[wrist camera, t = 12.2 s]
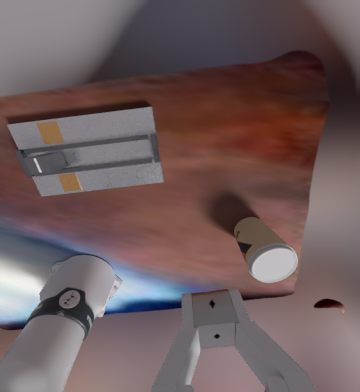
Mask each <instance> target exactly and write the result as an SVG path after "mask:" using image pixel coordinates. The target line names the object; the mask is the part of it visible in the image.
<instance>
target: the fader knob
mask: <svg viewBox="0 0 360 392" xmlns="http://www.w3.org/2000/svg"><path fill="white" fill-rule="evenodd" d="M24 161H25V163H26V165H27V167H28V169H29V171H30V173H31V175H33V174H41V173H50V172H54V171H56V170H59V169H62V168H64V167H67V165H66V162H65V159H64V157H63V154H62V152H55V153H47V154H41V155H36V156H32V157H27V158H24Z"/></svg>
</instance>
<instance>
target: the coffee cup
mask: <svg viewBox="0 0 360 392" xmlns="http://www.w3.org/2000/svg"><path fill="white" fill-rule="evenodd" d="M234 235H235V238H236V240H237V243H238V245H239V247H240V250H241V252H242V254H243V257H244V259H245V261H246V264H247V266H248V270H249V272H250V274H251V275H252V276H253V277H255V278H256V279H257V280H259V281H262V282H267V283H271V282H277V281H280V280H283V279H285V278H286V277H288V276H289V275H291V274H292V273H293V271H294V270H295V269H296V267H297V263H298V258H297V255H296V252H295V251H294V249H293V248H292V247H290V246H289V245H287V244H286V243H285V242H284V241H283V240H282V239H281V238H280V237H279V236H278V235H277V234H276V233H275V232H274V231H272V230H271V229H270V228H269V227H268V226H267V225H266V224H265V223H264V222H262V221H261V220H260V219H258V218H256V217H247V218H244V219H242V220H241V221H239V222H238V223H237V225H236V226H235V229H234Z"/></svg>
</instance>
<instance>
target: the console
mask: <svg viewBox="0 0 360 392" xmlns="http://www.w3.org/2000/svg"><path fill="white" fill-rule="evenodd" d="M7 126H8V128H9V130H10V132H11V134H12V137H13V139H14V141H15V143H16V145H17V147H18V149H19V150H16V151H15V153H16V155H17V157H18V159H19V161H20V163H21V165H22V167H23V169H24V171H25V173H26V175H27V177H28V178H31V177H32V178H33V180H34V182H35V184H36V186H37V188H38V190H39V192H40V194H41V196H49V195H58V194H66V193H75V192H83V191H92V190H100V189H109V188H117V187H126V186H135V185H143V184H152V183H160V182H164V175H163V169H162V162H161V156H160V149H159V143H158V137H157V130H156V124H155V117H154V111H153V107H145V108H137V109H129V110H121V111H113V112H105V113H97V114H89V115H81V116H73V117H65V118H57V119H49V120H41V121H33V122H24V123H16V124H8V125H7ZM55 152H62V154H63V157H64V159H65V162H66V165H67V167H64V168H62V169H59V170H56V171H54V172H50V173H41V174H33V175H31V173H30V171H29V169H28V167H27V165H26V163H25V161H24V158H27V157H32V156H36V155H41V154H47V153H55Z"/></svg>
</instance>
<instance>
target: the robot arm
mask: <svg viewBox="0 0 360 392" xmlns="http://www.w3.org/2000/svg"><path fill="white" fill-rule="evenodd" d="M121 284H122V281H121V279H119V278H118V277H117V276H116V275H115V273H114V270H113V269H112V267H111V266H110V265H109V264H108V263H107V262H105V261H104V260H102V259H100V258H97V257H94V256H90V255H77V256H73V257H71V258H69V259H67V260H66V261H63V262H57V263H54V265H53V266H52V276H51V278H50V279H49V281H48V282H47V283H46V285H45V286H44V287H43V289H42V290H41V292H40V294H39V295H40V300H41V302H40V304H39V305H38V306H37V308H36V309H34V311H33V312H32V313H31V315H30V317H29V319H28V320H27V322H26V326H25V328H24V329H23V331H22V332H21V333H20V335H19V336H18V337H17V339H16V340H15V341H14V343H13V344H12V346H11V347H10V348H9V350H8V351H7V352H6V354H5V355H4V356H3V358H2V359H1V360H0V392H64V388H65V385H66V382H67V379H68V377H69V374H70V371H71V369H72V366H73V363H74V360H75V358H76V356H77V353H78V351H79V348H80V346H81V343H82V341H84V339H85V338H86V337H87V334H88V333H89V331H90V329H91V326H92V323H93V320H94V319H95V318H96V317H97V316H98V317H102V316H103V314H104V312H105V309H106V307H107V306H106V305H107V303H108V302H109V301H110V299H111V298H112V297H113V295H114V294H115V293H116V292H117V290H118V289H119V288H120V286H121ZM182 321H183V329H180V330H179V332H178V334H177V336H176V338H175V340H174V342H173V344H172V346H171V348H170V351H169V353H168V355H167V357H166V359H165V361H164V363H163V365H162V367H161V369H160V371H159V373H158V375H157V377H156V379H155V382H154V384H153V386H152V392H194V389H193V388H192V386H190V383H191V380H192V376H193V373H194V370H195V367H196V364H197V361H198V357H199V354H200V349H207V348H214V347H227V346H235V348H236V349H237V350H238V352H239V353H240V354H241V356H242V357H243V359H244V360H245V361H246V363H247V364H248V365H249V367H250V368H251V369H252V371H253V372H254V373H255V375H256V376H257V377H258V379H259V380H260V381H261V383H262V384H263V385H264V387H265V392H317V391H316V389H315V387H314V385H313V383H312V381H311V379H310V377H309V375H308V374H307V372H306V371H305V370H304V369H303V368H302V367H301V366H300V365H299V364H298V363H297V362H296V361H295V360H293V359H292V358H291V357H290V356H289V355H288V354H287V353H286V352H285V351H284V350H283V349H282V348H281V347H280V346H279V345H278V344H277V343H276V342H275V341H274V340H273V339H271V338H270V336H268V335H267V334H266V333H265V332H264V331H263V330H262V329H261V328H260V327H259V326H258V325H257V324H256V323H255V322H251V321H250V318H249V316H248V313H247V311H246V308H245V305H244V303H243V300H242V298H241V295H240V293H239V290H238V289H237V288H234V289H223V290H215V291H209V292H198V293H187V294H182Z"/></svg>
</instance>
